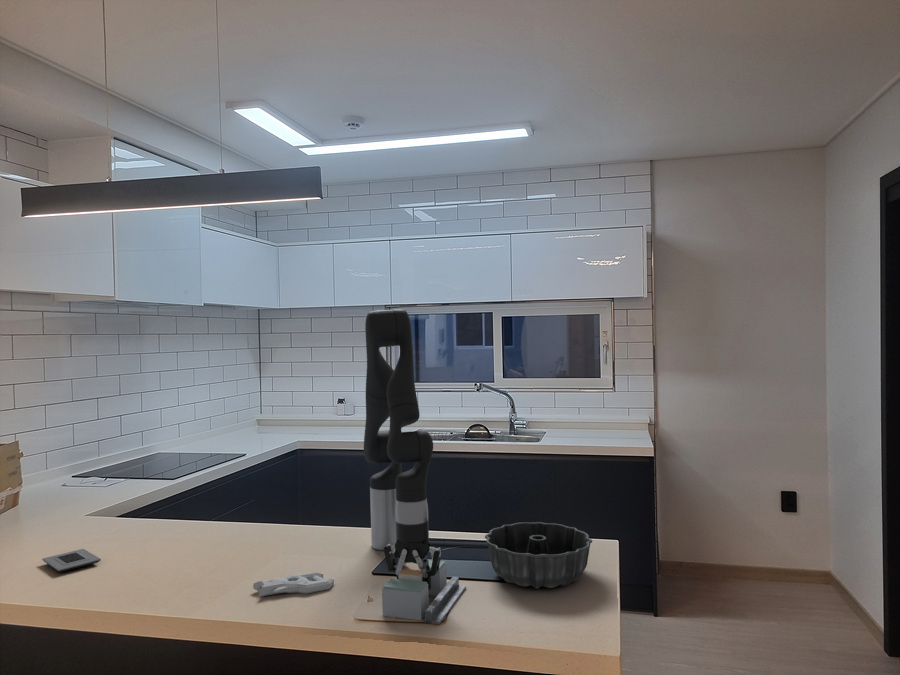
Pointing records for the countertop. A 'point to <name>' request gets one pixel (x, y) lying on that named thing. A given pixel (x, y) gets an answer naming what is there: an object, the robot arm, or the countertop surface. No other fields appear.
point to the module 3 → (437, 579)
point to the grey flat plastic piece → (294, 584)
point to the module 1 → (411, 573)
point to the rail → (444, 601)
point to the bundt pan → (538, 553)
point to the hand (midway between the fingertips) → (413, 590)
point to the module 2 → (405, 599)
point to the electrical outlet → (71, 560)
